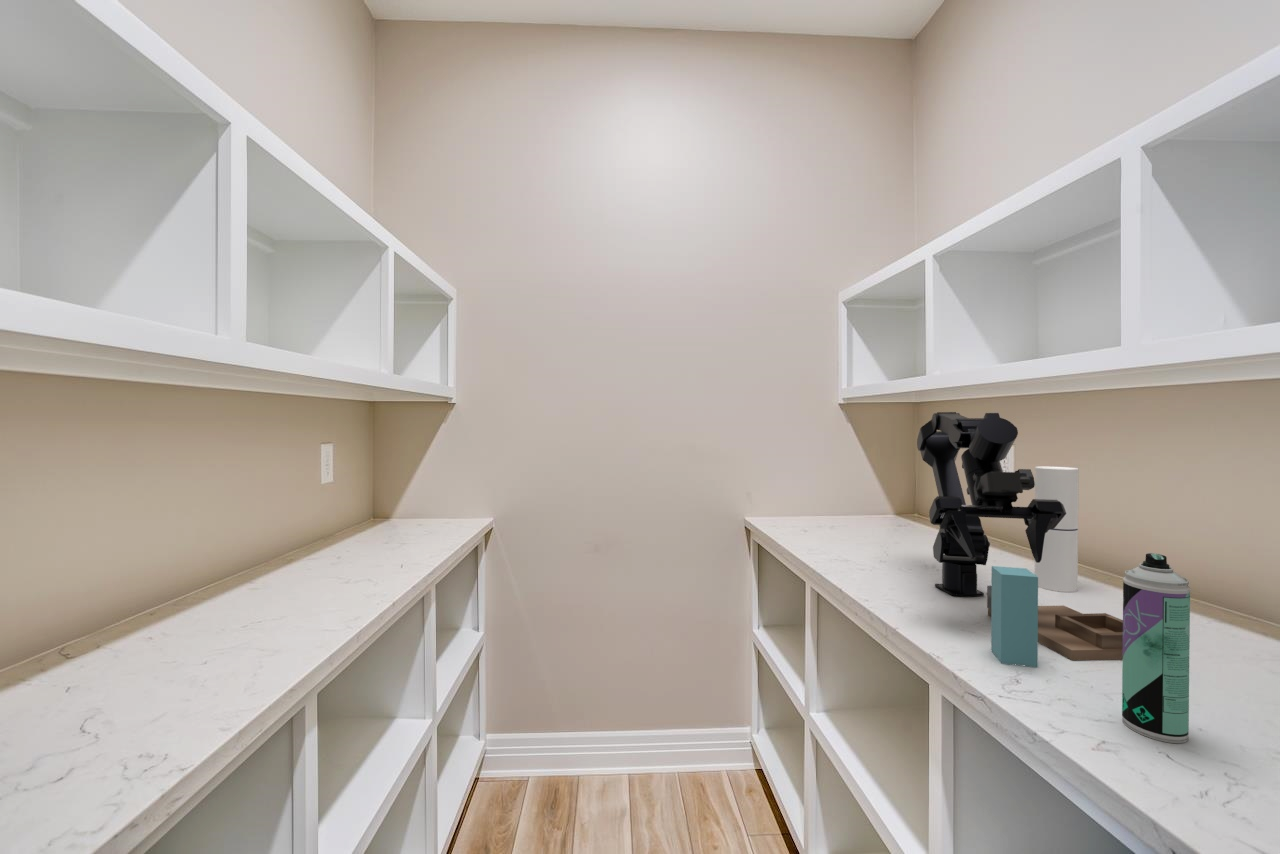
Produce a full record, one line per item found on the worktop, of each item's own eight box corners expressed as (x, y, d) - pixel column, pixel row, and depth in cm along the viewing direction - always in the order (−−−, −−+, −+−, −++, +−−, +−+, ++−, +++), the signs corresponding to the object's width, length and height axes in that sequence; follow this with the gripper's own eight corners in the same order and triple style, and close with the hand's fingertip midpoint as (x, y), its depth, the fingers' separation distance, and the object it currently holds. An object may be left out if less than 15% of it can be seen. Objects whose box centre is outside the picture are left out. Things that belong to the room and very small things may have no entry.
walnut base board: (985, 615, 96) (985, 584, 96) (1063, 613, 96) (1063, 583, 96) (1068, 660, 78) (1068, 623, 78) (1164, 658, 78) (1164, 621, 78)
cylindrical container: (1037, 589, 110) (1038, 468, 110) (1031, 579, 117) (1032, 465, 116) (1081, 594, 107) (1082, 470, 107) (1072, 584, 113) (1073, 467, 113)
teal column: (991, 650, 82) (991, 566, 81) (1025, 654, 80) (1026, 568, 80) (1000, 663, 77) (1001, 574, 77) (1037, 667, 76) (1038, 576, 76)
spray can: (1153, 714, 64) (1155, 548, 63) (1203, 742, 58) (1205, 561, 58) (1109, 716, 64) (1110, 549, 63) (1155, 744, 58) (1156, 561, 58)
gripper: (935, 450, 91) (952, 533, 82) (1064, 451, 86) (1097, 540, 77) (923, 484, 99) (936, 563, 90) (1039, 487, 94) (1066, 571, 85)
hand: (1005, 559), depth 85 cm, fingers open, 9 cm apart
